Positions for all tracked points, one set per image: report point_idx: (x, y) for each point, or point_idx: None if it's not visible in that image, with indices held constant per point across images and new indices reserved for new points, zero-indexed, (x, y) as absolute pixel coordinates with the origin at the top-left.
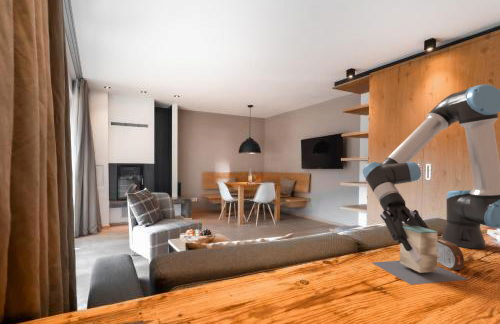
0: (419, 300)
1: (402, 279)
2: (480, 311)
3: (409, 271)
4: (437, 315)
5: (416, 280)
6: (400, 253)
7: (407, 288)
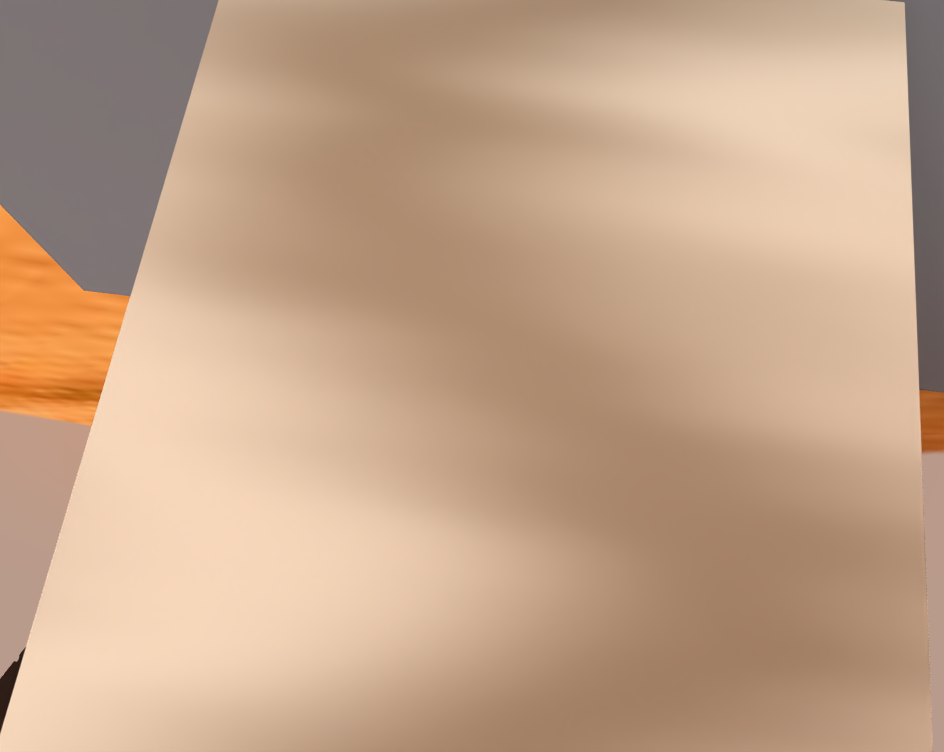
0: (55, 362)
1: (23, 220)
2: None
3: None
4: (93, 417)
5: None
6: (154, 246)
7: (26, 282)
